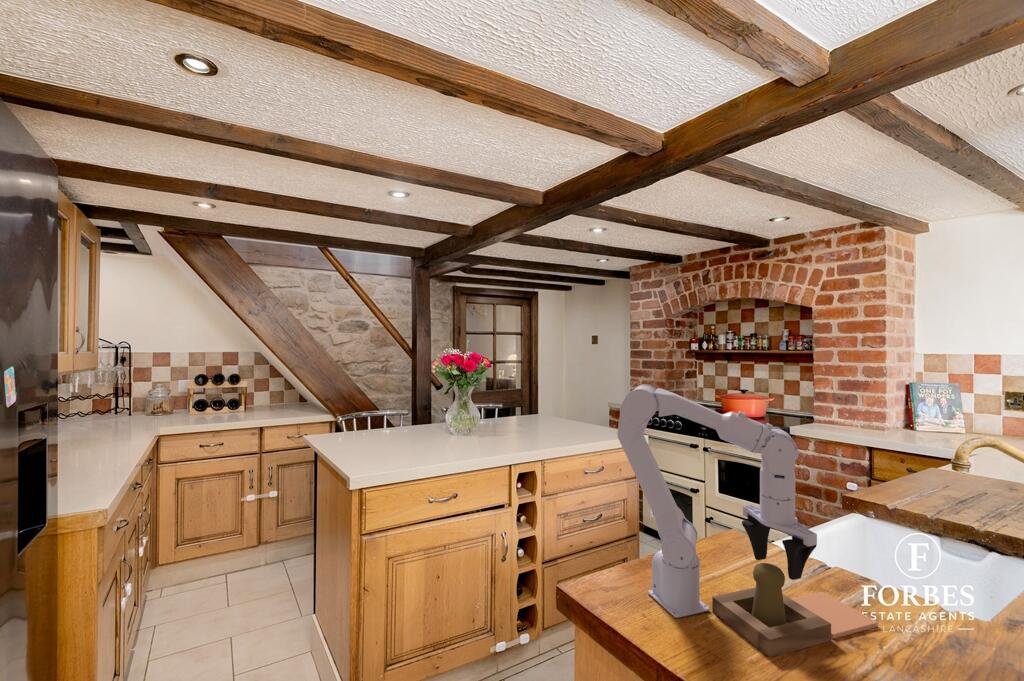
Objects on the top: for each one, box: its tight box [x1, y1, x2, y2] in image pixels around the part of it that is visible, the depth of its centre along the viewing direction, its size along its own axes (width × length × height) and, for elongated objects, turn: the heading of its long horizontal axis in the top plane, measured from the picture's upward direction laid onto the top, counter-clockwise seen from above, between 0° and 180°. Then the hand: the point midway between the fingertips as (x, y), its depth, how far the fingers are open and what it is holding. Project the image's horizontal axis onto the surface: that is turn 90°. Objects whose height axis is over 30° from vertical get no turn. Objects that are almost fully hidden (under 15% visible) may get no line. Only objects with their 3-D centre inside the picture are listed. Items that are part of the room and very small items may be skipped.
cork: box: [751, 562, 788, 628], centre depth 88 cm, size 6×6×11 cm
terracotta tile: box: [790, 591, 879, 640], centre depth 91 cm, size 11×11×1 cm
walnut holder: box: [711, 586, 832, 658], centre depth 88 cm, size 14×14×3 cm
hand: (777, 568), depth 88 cm, fingers open, 7 cm apart
